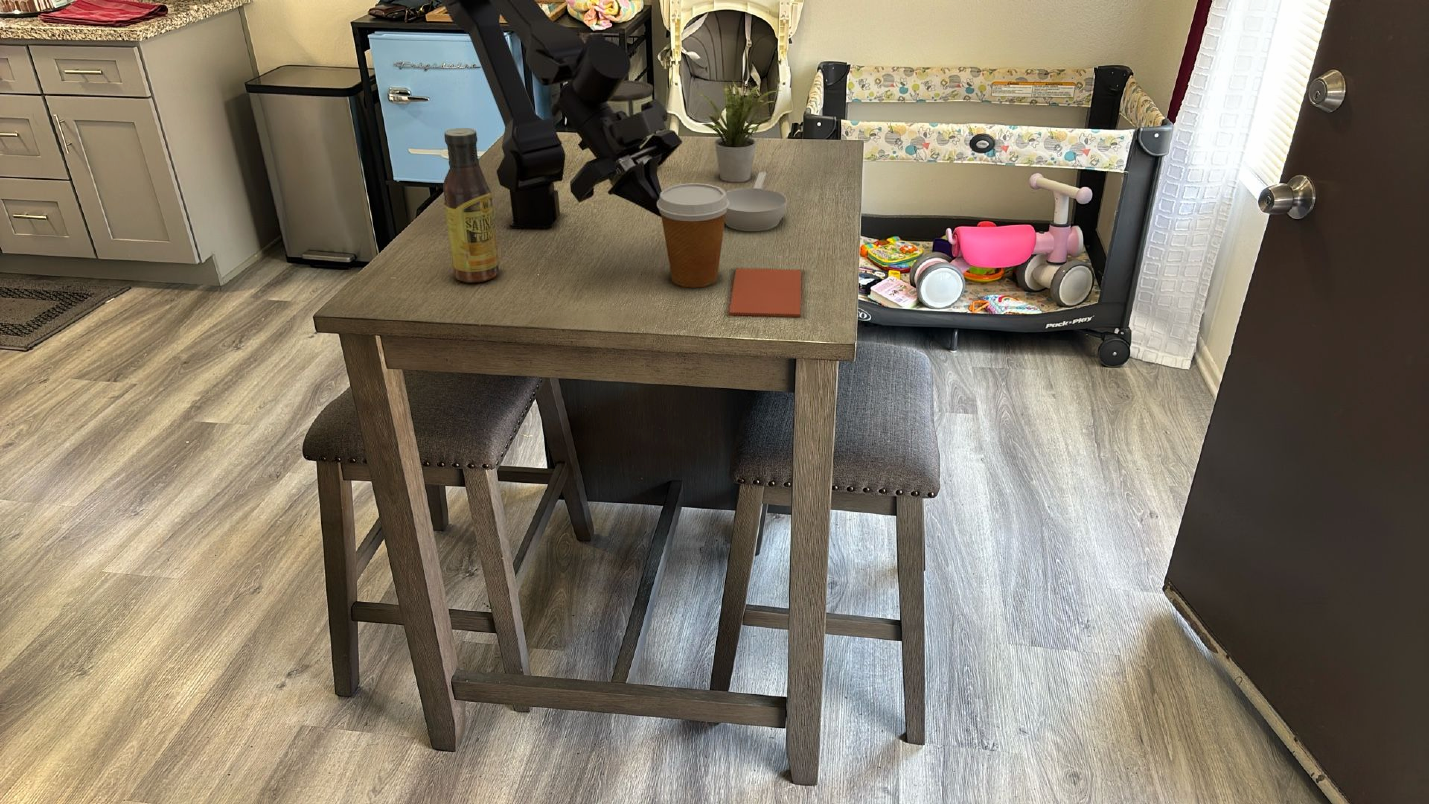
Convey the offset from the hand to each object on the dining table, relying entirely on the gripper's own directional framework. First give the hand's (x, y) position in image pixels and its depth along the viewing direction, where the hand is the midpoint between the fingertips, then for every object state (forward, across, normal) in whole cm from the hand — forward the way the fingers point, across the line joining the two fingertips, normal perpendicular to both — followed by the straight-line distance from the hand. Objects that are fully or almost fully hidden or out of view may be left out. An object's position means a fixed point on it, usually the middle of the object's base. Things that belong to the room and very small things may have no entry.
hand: (665, 215), depth 133 cm
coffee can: (-18, +34, +29) cm, 48 cm away
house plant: (-3, +40, +14) cm, 43 cm away
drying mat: (+17, +1, -5) cm, 17 cm away
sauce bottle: (-9, -15, +21) cm, 27 cm away
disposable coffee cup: (+9, 0, +3) cm, 10 cm away
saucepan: (+5, +26, +7) cm, 28 cm away
